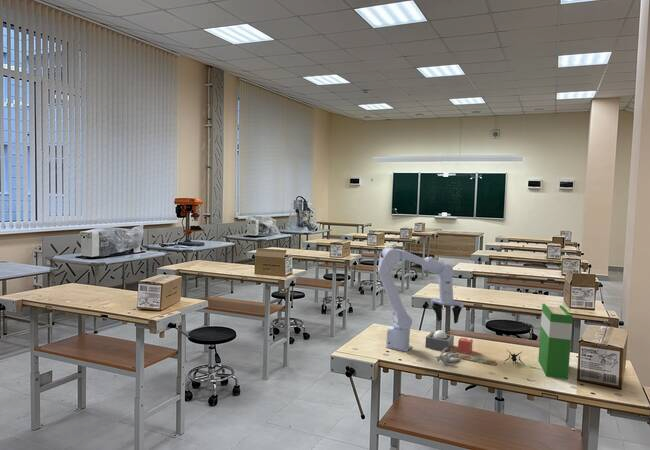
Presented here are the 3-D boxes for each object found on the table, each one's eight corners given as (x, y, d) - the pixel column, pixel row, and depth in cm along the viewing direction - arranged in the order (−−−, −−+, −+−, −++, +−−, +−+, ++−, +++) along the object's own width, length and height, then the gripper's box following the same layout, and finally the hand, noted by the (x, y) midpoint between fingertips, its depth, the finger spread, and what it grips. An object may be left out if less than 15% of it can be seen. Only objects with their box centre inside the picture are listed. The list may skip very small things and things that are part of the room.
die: (457, 351, 197) (458, 339, 196) (460, 348, 201) (460, 337, 201) (469, 354, 194) (470, 342, 194) (471, 350, 199) (472, 339, 198)
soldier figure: (465, 365, 183) (450, 362, 175) (455, 371, 185) (440, 368, 177) (456, 348, 188) (441, 344, 180) (447, 354, 190) (431, 350, 182)
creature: (524, 371, 180) (523, 360, 187) (526, 359, 179) (525, 349, 186) (503, 368, 183) (503, 357, 190) (504, 356, 181) (504, 346, 189)
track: (445, 355, 191) (445, 354, 191) (447, 353, 194) (447, 352, 194) (495, 365, 182) (495, 364, 182) (496, 362, 185) (496, 361, 185)
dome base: (425, 347, 201) (425, 337, 201) (431, 341, 210) (431, 331, 209) (448, 351, 196) (448, 341, 196) (453, 345, 205) (454, 335, 205)
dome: (430, 343, 201) (431, 330, 201) (434, 339, 207) (434, 327, 207) (445, 346, 198) (446, 333, 198) (448, 342, 204) (449, 329, 204)
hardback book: (538, 360, 190) (542, 303, 188) (557, 363, 188) (562, 305, 186) (546, 376, 173) (550, 313, 171) (567, 379, 171) (572, 316, 169)
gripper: (465, 290, 198) (467, 321, 199) (435, 287, 207) (436, 317, 208) (458, 294, 193) (460, 325, 194) (427, 291, 202) (429, 321, 203)
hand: (447, 321), depth 201 cm, fingers open, 7 cm apart
